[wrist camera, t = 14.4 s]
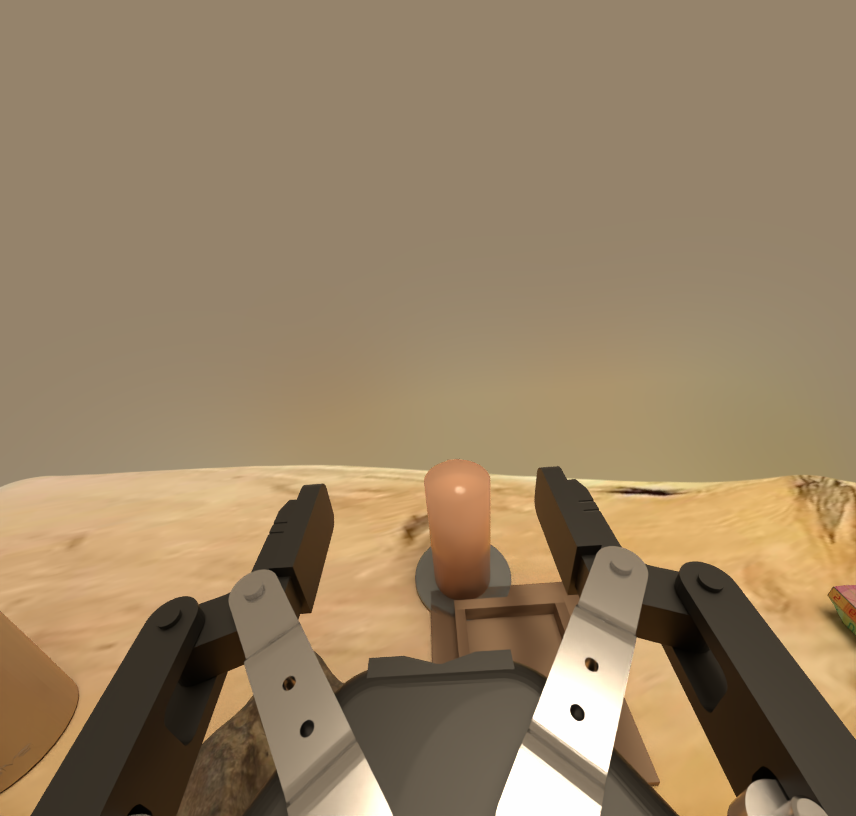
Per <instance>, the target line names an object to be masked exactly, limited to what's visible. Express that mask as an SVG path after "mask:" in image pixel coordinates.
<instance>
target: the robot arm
mask: <svg viewBox="0 0 856 816" xmlns="http://www.w3.org/2000/svg"><path fill="white" fill-rule="evenodd" d="M535 509H536V513H537V516H538V519H539V522H540V524H541V527H542V530H543V532H544V535H545V537H546V540H547V543H548V545H549V548H550V551H551V553H552V556H553V559H554V561H555V564H556V567H557V569H558V572H559V574H560V577H561V580H562V582H563V585H564V588H565V590H566V593H567V595H579V598H580V600H579V602H578V604H577V605H576V606H575V608H574V610H573V613H572V615H571V618H570V621H569V623H568V626H567V629H566V631H565V634H564V637H563V639H562V642H561V645H560V647H559V650H558V653H557V655H556V658H555V661H554V663H553V666H552V668H551V671H550V674H549V676H548V678H547V677H546V676H544V675H543V674H542V673H540V672H539V671H537V670H535V669H533V668H531V667H529V666H527V665H525V664H522V663H519V662H515V661H513V659H512V654H511V649H507V650H491V651H476V652H473V653H470V654H467V655H465V656H462V657H459V658H457V659H454V660H451V661H448V662H446V663H442V664H436V663H431V662H427V661H423V660H419V659H414V658H410V657H406V656H396V657H380V658H369V663H368V670H367V671H364V672H362V673H360V674H358V675H356V676H354V677H353V678H351V679H350V680H348V681H347V682H346V683H344V684H343V685H342V686H341V687H340V688H339V689H338V690H337V691H336V692H335V693H333V691H332V689H331V686H330V684H329V682H328V680H327V678H326V676H325V674H324V672H323V670H322V668H321V666H320V664H319V662H318V659H317V657H316V655H315V653H314V651H313V649H312V647H311V645H310V643H309V641H308V639H307V637H306V635H305V633H304V630H303V628H302V626H301V624H300V623H299V621H298V619H299V616H300V614H306V613H312V609H313V605H314V601H315V597H316V593H317V590H318V586H319V582H320V578H321V574H322V571H323V567H324V563H325V559H326V555H327V552H328V548H329V544H330V540H331V536H332V533H333V528H334V514H333V510H332V506H331V503H330V499H329V496H328V492H327V488H326V486H325V484H313V485H304V486H303V487H302V488H301V491H300V493H299V496H298V498H297V500H289V501H288V502H287V503H286V504H285V505H284V506H283V507H282V508H281V509H280V511H279V512H278V515H277V517H276V519H275V521H274V525H273V526H272V528H271V530H270V532H269V533H270V534H269V535H268V537H267V539H266V541H265V543H264V545H263V548H262V550H261V552H260V554H259V556H258V559H257V561H256V563H255V565H254V567H253V570H252V572H251V573H249V574H247V575H246V576H244V577H243V578H242V579H240V580H239V581H238V582H237V583H236V584H235V586H234V587H233V589H232V590H231V592H230V593H228V594H226V595H223V596H221V597H218V598H215V599H212V600H210V601H207V602H204V603H201V604H198V603H197V601H196V600H195V599H194V598H192V597H188V596H183V597H178V598H175V599H173V600H170V601H169V602H167V603H165V604H163V605H162V606H161V607H159V608H158V609H157V610H156V611H155V612H154V613H153V614H152V615H151V616H150V617H149V618H148V620H147V621H146V623H145V624H144V626H143V628H142V629H141V631H140V633H139V634H138V636H137V638H136V639H135V641H134V643H133V645H132V646H131V648H130V650H129V651H128V653H127V655H126V656H125V658H124V660H123V661H122V663H121V665H120V666H119V668H118V670H117V671H116V673H115V675H114V676H113V678H112V680H111V681H110V683H109V685H108V687H107V688H106V690H105V692H104V693H103V695H102V697H101V698H100V700H99V702H98V703H97V705H96V707H95V708H94V710H93V712H92V713H91V715H90V717H89V718H88V720H87V722H86V724H85V725H84V727H83V729H82V730H81V732H80V734H79V735H78V737H77V739H76V740H75V742H74V744H73V745H72V747H71V749H70V750H69V752H68V754H67V755H66V757H65V759H64V760H63V762H62V764H61V766H60V767H59V769H58V771H57V772H56V774H55V776H54V777H53V779H52V781H51V782H50V784H49V786H48V787H47V789H46V791H45V792H44V794H43V796H42V797H41V799H40V801H39V802H38V804H37V806H36V808H35V809H34V811H33V813H32V814H31V816H176V815H177V813H178V810H179V807H180V804H181V801H182V799H183V796H184V793H185V790H186V787H187V785H188V782H189V779H190V776H191V773H192V771H193V768H194V765H195V762H196V759H197V756H198V754H199V751H200V748H201V745H202V742H203V740H204V737H205V734H206V731H207V728H208V726H209V723H210V720H211V717H212V714H213V712H214V709H215V706H216V703H217V700H218V698H219V695H220V692H221V689H222V686H223V683H224V681H225V678H226V675H227V672H228V671H230V670H232V669H234V668H237V667H239V666H242V665H245V669H246V672H247V675H248V679H249V682H250V685H251V688H252V692H253V695H254V698H255V701H256V705H257V708H258V711H259V714H260V718H261V721H262V724H263V727H264V731H265V734H266V737H267V740H268V743H269V747H270V750H271V753H272V756H273V760H274V763H275V766H276V770H275V771H274V772H273V774H272V775H271V776H270V778H269V779H268V780H267V782H266V783H265V784H264V786H263V787H262V788H261V790H260V791H259V792H258V794H257V795H256V796H255V798H254V799H253V800H252V802H251V803H250V804H249V806H248V807H247V808H246V810H245V811H244V812H243V814H242V815H241V816H679V815H678V814H677V813H676V812H675V811H674V810H673V809H672V808H671V807H670V806H669V805H668V803H667V802H666V801H665V800H664V799H663V798H662V797H661V796H660V795H659V794H658V793H657V792H656V791H655V790H654V789H653V788H652V787H651V785H650V784H649V783H648V782H647V781H646V780H645V779H644V778H643V777H642V776H641V775H640V774H639V773H638V772H637V771H636V770H635V769H634V768H633V766H632V765H631V764H630V763H629V762H628V761H627V760H626V759H625V758H624V757H623V756H622V755H621V754H620V753H619V752H618V751H617V749H616V748H615V747H614V746H613V744H614V740H615V735H616V731H617V726H618V722H619V717H620V712H621V708H622V703H623V699H624V694H625V689H626V685H627V680H628V676H629V671H630V666H631V662H632V657H633V653H634V648H635V643H636V637H638V638H641V639H645V640H649V641H653V642H656V643H660V644H662V646H663V648H664V650H665V652H666V654H667V657H668V659H669V661H670V663H671V665H672V667H673V669H674V671H675V673H676V675H677V677H678V679H679V681H680V683H681V685H682V687H683V689H684V691H685V693H686V695H687V697H688V699H689V701H690V703H691V705H692V707H693V710H694V712H695V714H696V716H697V718H698V720H699V722H700V724H701V726H702V728H703V730H704V732H705V734H706V736H707V738H708V740H709V742H710V744H711V746H712V748H713V750H714V752H715V754H716V756H717V758H718V760H719V763H720V765H721V767H722V769H723V771H724V773H725V775H726V777H727V779H728V781H729V783H730V785H731V787H732V789H733V791H734V793H735V795H736V797H737V798H736V799H734V800H733V801H732V803H731V804H730V806H729V809H728V814H727V816H856V739H855V738H854V737H853V736H852V734H851V733H850V732H849V730H848V729H847V728H846V726H845V725H844V724H843V722H842V721H841V720H840V719H839V717H838V716H837V715H836V713H835V712H834V711H833V709H832V708H831V707H830V705H829V704H828V703H827V702H826V700H825V699H824V698H823V696H822V695H821V694H820V692H819V691H818V690H817V688H816V687H815V686H814V685H813V683H812V682H811V681H810V679H809V678H808V677H807V675H806V674H805V673H804V671H803V670H802V669H801V668H800V666H799V665H798V664H797V662H796V661H795V660H794V658H793V657H792V656H791V654H790V653H789V652H788V651H787V649H786V648H785V647H784V645H783V644H782V643H781V641H780V640H779V639H778V637H777V636H776V635H775V633H774V632H773V631H772V630H771V628H770V627H769V626H768V624H767V623H766V622H765V620H764V619H763V618H762V616H761V615H760V614H759V613H758V611H757V610H756V609H755V607H754V606H753V605H752V603H751V602H750V601H749V599H748V598H747V597H746V596H745V594H744V593H743V592H742V590H741V589H740V588H739V586H738V585H737V584H736V583H735V581H734V580H733V579H732V578H731V577H730V576H729V575H727V574H726V573H725V572H723V571H722V570H720V569H718V568H717V567H715V566H712V565H710V564H707V563H703V562H688V563H685V564H684V565H683V566H682V567H681V568H680V571H679V572H678V571H673V570H668V569H663V568H659V567H654V566H650V565H647V564H645V563H644V562H643V561H642V560H641V559H640V558H639V557H638V556H637V555H636V554H634V553H633V552H631V551H629V550H627V549H625V548H622V547H621V545H620V544H619V542H618V541H617V539H616V537H615V535H614V534H613V532H612V530H611V529H610V527H609V525H608V524H607V522H606V520H605V518H604V517H603V515H602V513H601V512H600V511H599V508H598V507H597V505H596V503H595V502H594V501H593V498H592V496H591V495H590V493H589V491H588V490H587V488H586V487H584V486H583V485H582V484H581V483H579V482H578V481H577V480H576V479H572V480H567V479H566V477H565V475H564V473H563V471H562V469H561V468H560V467H559V466H557V467H543V468H538V471H537V478H536V488H535ZM78 695H79V694H78V687H77V686H76V684H75V683H74V681H73V680H72V679H71V678H70V677H69V676H68V675H67V674H66V673H64V672H63V671H62V670H61V669H60V668H59V667H58V666H57V665H56V664H55V663H54V662H53V661H52V660H51V659H50V658H49V657H48V656H47V655H46V654H45V653H44V652H43V651H42V650H41V649H40V648H39V647H38V646H37V645H36V644H35V643H33V642H32V641H31V640H30V639H29V638H28V637H27V636H26V635H25V634H24V633H23V632H22V631H21V630H20V629H19V628H18V627H17V626H16V625H15V624H14V623H12V622H11V621H10V620H9V619H8V618H7V617H6V616H5V615H4V614H3V613H2V612H1V611H0V792H2V791H3V790H5V789H6V788H8V787H9V786H10V785H12V784H13V783H14V782H15V781H17V780H18V779H19V778H20V777H22V776H23V775H24V774H25V773H27V772H28V771H29V770H30V769H31V768H32V767H33V766H34V765H35V764H36V763H37V762H38V761H39V760H40V759H41V758H42V757H43V756H44V755H45V754H46V753H47V751H48V750H49V749H50V748H51V747H52V746H53V745H54V743H55V742H56V741H57V739H58V738H59V737H60V735H61V734H62V733H63V731H64V730H65V728H66V726H67V725H68V723H69V721H70V719H71V718H72V716H73V713H74V711H75V708H76V706H77V701H78Z"/></svg>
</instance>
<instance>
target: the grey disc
mask: <svg viewBox="0 0 856 816" xmlns="http://www.w3.org/2000/svg"><path fill="white" fill-rule="evenodd" d="M415 580H416V588H417V592H418V595H419V597H420V599H421V601H422V603H423V604H424V605H425V607H426V608H427V609H428V610H429V611H430V612H431V610H434V609H431V605H433V606H432V607H435V605H436V607H439V608H440V607H441V608H443V609H440V610H443V611H444V612H445V613H446V611H447V613H450V614H452V613H453V616H454V617H455V615H454V613H455V606H454V603H451V604H452V605H453V606H454V607H453V606H452V605H451V604H450V602H452V601H453V600H454V599H453V600H452V601H451V600H450V599H449V598H448V597H444V596H446V595H444V594H443V593H442V592H439V591H440V590H439V588H438V587H437V584H436V581H435V575H434V566H433V557H432V548H431V547H430V548H429V549H428V550H427V551H426V552H425V553H424V554H423V556H422V557H421V559H420V561H419V563H418V565H417V569H416V575H415ZM510 585H511V573H510V569H509V566H508V563H507V561H506V560H505V558H504V557H503V555H502V554H501V553H500V552H499V551H498V550H497V549H496V548H495V547H493V546H492V545H491V544H490V583H489V586H488V587H489V588H487V589H486V590H488V591H490V594H489V592H488V591H487V592H486V591H485V592H486V593H483V594H482V595H483V596H484V595H485V596H486V598H487V597H490V596H488V595H491V597H492V596H494V597H496V596H497V597H507V595H508V594H509V591H510V587H511V586H510ZM498 586H499V587H498ZM502 586H503V587H504V590H503V587H502ZM507 586H509V587H507ZM490 587H491V588H492V587H494V589H493V592H491V591H492V589H490ZM501 587H502V588H501ZM496 588H498V589H499V590H496ZM500 588H501V589H502V591H500ZM438 590H439V591H438ZM505 590H506V591H505ZM507 590H508V592H507ZM435 591H438V592H436V593H435ZM496 591H497V592H496ZM503 591H504V592H505V593H504V592H503ZM431 592H432V593H435V596H433V597H432V596H431V595H434V594H431ZM500 592H501V593H500ZM439 593H440V594H443V595H440V594H439ZM487 593H488V595H487ZM491 593H495V594H491ZM498 593H499V595H497V594H498ZM500 594H501V595H500ZM504 594H505V596H504ZM437 595H440V597H439V596H438V597H437ZM482 595H481V596H482ZM441 596H442V597H441ZM483 596H482V597H481V598H480V597H477V598H478V599H483V598H484V597H485V596H484V597H483ZM431 597H432V598H435V599H437V600H435V601H434V599H432V598H431ZM436 597H437V598H436ZM494 597H492V598H494ZM497 597H496V598H497ZM441 598H442V599H441ZM443 598H444V599H443ZM431 599H432V600H431ZM439 599H440V600H444V601H438V600H439ZM446 599H448V601H450V602H447V600H446ZM445 600H446V602H445ZM431 602H432V604H431ZM433 602H434V603H433ZM453 602H454V601H453ZM438 603H439V605H438ZM441 603H442V604H441ZM444 603H445V604H446V605H445V604H444ZM447 603H448V604H447ZM440 604H441V605H440ZM442 605H443V606H442ZM449 605H450V606H452V607H449ZM436 607H435V608H436ZM444 607H445V608H446V610H445V608H444ZM451 608H454V611H452V610H453V609H451ZM437 609H438V608H437ZM437 609H435V610H437ZM447 609H448V610H447ZM450 609H451V610H450ZM451 612H452V613H451ZM451 616H452V615H451ZM473 620H475V619H473ZM467 621H469V620H467Z"/></svg>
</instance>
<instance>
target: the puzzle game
mask: <svg viewBox="0 0 856 816" xmlns="http://www.w3.org/2000/svg"><path fill="white" fill-rule="evenodd" d="M828 597H829V598H830V600H831V601H832V603H833V604H834V606H835V608H836V610H837V612H838V614H839V616H840V618H841V620H842V622H843V623H844V624H845V625H846V626H847V627H848V628H849V629H850V630H851V631H852V632H853V633H854V635H855V636H856V585H843V586H836V587H833V588H832V589H831V591H830V592H829V594H828Z"/></svg>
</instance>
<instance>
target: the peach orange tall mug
mask: <svg viewBox="0 0 856 816" xmlns="http://www.w3.org/2000/svg"><path fill="white" fill-rule="evenodd" d="M424 485H425V494H426V503H427V512H428V521H429V530H430V539H431V548H432V557H433V566H434V575H435V581H436V584H437V587H438V588H439V590H440V591H441V592H442V593H443V594H444V595H446V596H447V597H449V598H451V599H454V600H468V599H475V598H477V597H479V596H481V595H482V594H483V593H484V592H485V591H486V589H487V588H488V586H489V583H490V476H489V474H488V472H487V471H486V470H485V469H484V468H483V467H482V466H480V465H478V464H476V463H474V462H471V461H466V460H459V459H454V460H447V461H446V462H442V463H440V464H437V465H436V466H434V467H433V468H431V469H430V470H429V471H428V473H427V474H426V476H425V479H424Z"/></svg>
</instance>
